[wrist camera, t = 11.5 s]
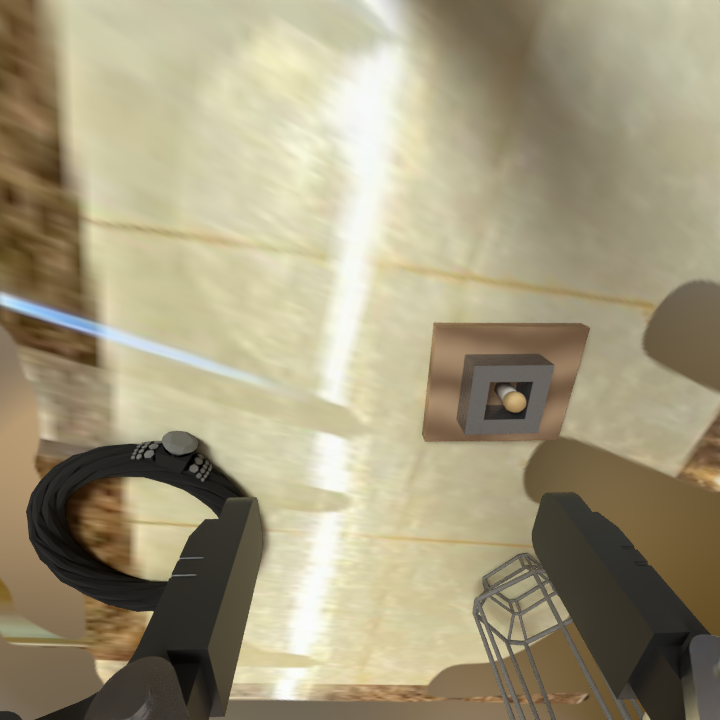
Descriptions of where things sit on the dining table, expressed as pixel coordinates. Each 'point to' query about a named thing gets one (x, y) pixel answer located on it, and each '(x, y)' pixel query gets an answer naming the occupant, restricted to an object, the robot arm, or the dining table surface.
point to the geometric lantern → (489, 628)
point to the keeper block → (500, 338)
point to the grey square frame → (487, 368)
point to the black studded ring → (129, 460)
